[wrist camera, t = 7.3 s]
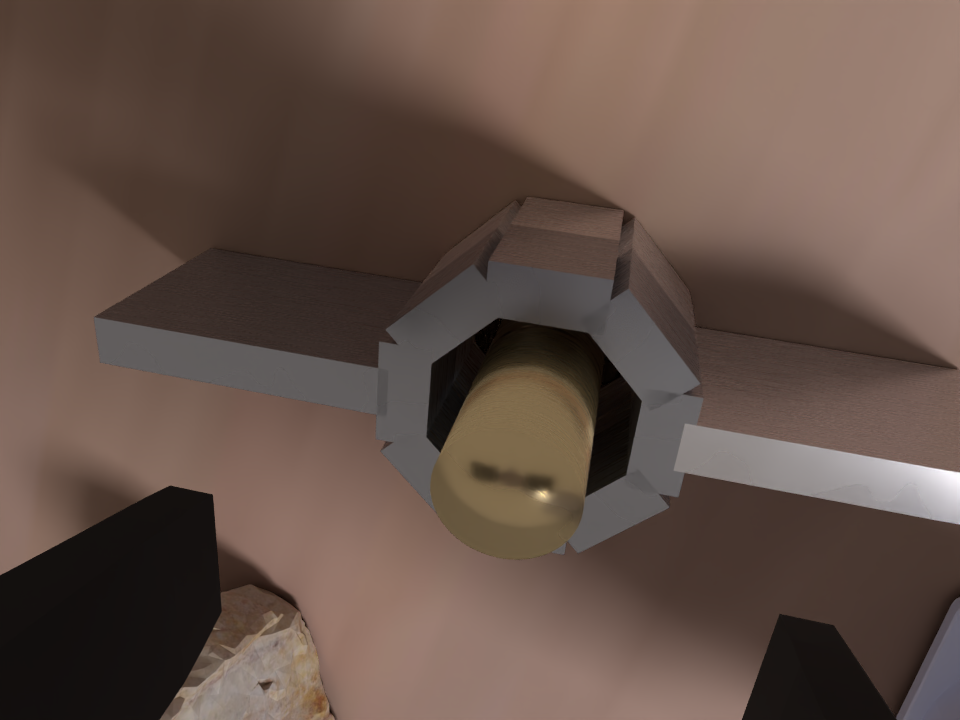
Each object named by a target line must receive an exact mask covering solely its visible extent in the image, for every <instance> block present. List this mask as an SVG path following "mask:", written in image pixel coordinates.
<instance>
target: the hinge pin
mask: <svg viewBox="0 0 960 720" xmlns="http://www.w3.org/2000/svg"><path fill="white" fill-rule="evenodd" d="M604 360H605V353H604V352H603V351H602V349H601V348H600V347H599V346H598V344H597V343H596V342H595V340H594V339H593V338H592V337H591V335H590V334H589V333H587V332H581V331H575V330H569V329H563V328H557V327H551V326H545V325H539V324H533V323H527V322H521V321H515V320H509V319H502V321H501V323H500V326H499V328H498V330H497V332H496V334H495V336H494V338H493V341H492V343H491V345H490V347H489V349H488V351H487V354H486V356H485V358H484V360H483V362H482V364H481V366H480V369H479V371H478V373H477V375H476V377H475V379H474V382H473V384H472V386H471V388H470V390H469V392H468V394H467V397H466V399H465V401H464V403H463V405H462V407H461V410H460V412H459V414H458V416H457V418H456V420H455V422H454V425H453V427H452V429H451V431H450V433H449V435H448V437H447V440H446V442H445V444H444V446H443V448H442V450H441V453H440V455H439V457H438V459H437V461H436V463H435V465H434V468H433V471H432V474H431V481H430V493H431V498H432V502H433V505H434V508H435V510H436V512H437V515H438V517H439V518H440V520H441V521H442V523H443V524H444V525H445V527H446V528H447V529H448V530H449V531H450V532H451V533H452V534H453V535H454V536H455V537H456V538H457V539H459V540H460V541H461V542H463V543H464V544H466V545H467V546H469V547H471V548H472V549H475V550H477V551H479V552H481V553H484V554H487V555H490V556H493V557H498V558H503V559H515V560H521V559H530V558H536V557H539V556H543V555H546V554H548V553H550V552H552V551H554V550H556V549H558V548H559V547H561V546H562V545H563V544H564V543H566V542H567V541H568V540H569V539H570V538H571V536H572V535H573V534H574V533H575V531H576V529H577V528H578V526H579V524H580V521H581V519H582V514H583V510H584V502H585V495H586V488H587V481H588V474H589V467H590V460H591V452H592V445H593V438H594V431H595V424H596V417H597V410H598V403H599V395H600V388H601V381H602V374H603V367H604Z"/></svg>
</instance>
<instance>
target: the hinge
mask: <svg viewBox="0 0 960 720" xmlns="http://www.w3.org/2000/svg"><path fill="white" fill-rule="evenodd" d="M623 213H624V210H619V209H612V208H605V207H598V206H591V205H584V204H577V203H570V202H563V201H556V200H549V199H542V198H535V197H527V198H526V200H525V202H524V203H523V205H522V207H521V206H520V205H519V203H518V202H517V201H516V200H514V201H513V202H512V203H510V204H509V205H508V206H507V207H505V208H504V209H503V210H501V211H500V212H499V213H497V214H496V215H495V216H494V217H492V218H491V219H490V220H488V221H487V222H486V223H484V224H483V225H482V226H481V227H479V228H478V229H477V230H475V231H474V232H473V233H471V234H470V235H469V236H468V237H466V238H465V239H464V240H462V241H461V242H460V243H458V244H457V245H456V246H454V247H453V248H452V249H451V250H449V251H448V252H447V253H445V255H444V256H443V257H442V258H441V260H440V261H439V262H438V263H437V265H436V266H435V267H434V269H433V270H432V271H431V272H430V274H429V275H428V276H427V277H426V279H425V280H424V281H423V282H422V283H421V282H415V281H408V280H402V279H396V278H390V277H384V276H378V275H371V274H365V273H359V272H353V271H347V270H341V269H335V268H328V267H322V266H316V265H310V264H304V263H298V262H291V261H285V260H279V259H273V258H267V257H261V256H254V255H248V254H242V253H236V252H230V251H224V250H218V249H211V248H210V249H209V250H207V251H205V252H204V253H202V254H200V255H199V256H197V257H195V258H193V259H192V260H190V261H188V262H187V263H185V264H183V265H182V266H180V267H178V268H176V269H175V270H173V271H171V272H170V273H168V274H166V275H164V276H163V277H161V278H159V279H158V280H156V281H154V282H153V283H151V284H149V285H147V286H146V287H144V288H142V289H141V290H139V291H137V292H136V293H134V294H132V295H130V296H129V297H127V298H125V299H124V300H122V301H120V302H119V303H117V304H115V305H113V306H112V307H110V308H108V309H107V310H105V311H103V312H102V313H100V314H98V315H96V316H95V317H94V323H95V330H96V337H97V343H98V350H99V357H100V363H105V364H110V365H116V366H121V367H126V368H132V369H137V370H142V371H148V372H153V373H158V374H163V375H169V376H174V377H179V378H185V379H190V380H195V381H201V382H206V383H211V384H216V385H222V386H227V387H232V388H238V389H243V390H248V391H254V392H259V393H264V394H270V395H275V396H280V397H285V398H291V399H296V400H301V401H307V402H312V403H317V404H323V405H328V406H333V407H338V408H344V409H349V410H354V411H360V412H365V413H370V414H376V439H378V440H383V441H386V443H385V444H384V446H383V448H382V449H381V452H382V453H383V455H384V456H385V457H386V458H387V459H388V460H389V461H390V462H391V463H392V465H393V466H394V467H395V468H396V469H397V470H398V471H399V472H400V473H401V475H402V476H403V477H404V478H405V479H406V480H407V481H408V482H409V483H410V484H411V486H412V487H413V488H414V489H415V490H416V491H417V492H418V493H419V494H420V496H421V497H422V498H423V499H424V500H425V501H426V502H427V503H428V504H429V506H430V507H431V508H432V509H433V510H434V511H435V512H436V510H435V508H434V505H433V502H432V498H431V493H430V481H431V474H432V471H433V468H434V465H435V463H436V461H437V459H438V457H439V455H440V453H441V450H442V448H443V446H444V444H445V442H446V440H447V437H448V435H449V433H450V431H451V429H452V427H453V425H454V422H455V420H456V418H457V416H458V414H459V412H460V410H461V407H462V405H463V403H464V401H465V399H466V397H467V394H468V392H469V390H470V388H471V386H472V384H473V382H474V379H475V377H476V375H477V373H478V371H479V369H480V366H481V364H482V362H483V360H484V358H485V356H486V354H485V353H484V352H483V351H482V349H481V348H480V347H479V346H478V345H477V343H476V342H475V336H476V333H477V332H478V331H479V330H481V329H482V328H484V327H485V326H487V325H488V324H490V323H491V322H492V321H494V320H495V319H497V318H503V319H509V320H515V321H521V322H527V323H533V324H539V325H545V326H551V327H557V328H563V329H569V330H575V331H581V332H587V333H589V334H590V335H591V337H592V338H593V339H594V340H595V342H596V343H597V344H598V346H599V347H600V348H601V349H602V351H603V352H604V353H605V354H606V356H607V357H608V358H609V360H610V361H611V362H612V363H613V365H614V366H615V367H616V368H617V370H618V371H619V372H620V374H621V376H620V377H618V378H616V379H615V380H613V381H611V382H610V383H608V384H606V385H605V386H603V387H601V388H600V395H599V403H598V410H597V417H596V424H595V431H594V438H593V445H592V452H591V460H590V467H589V474H588V481H587V488H586V495H585V502H584V510H583V514H582V519H581V521H580V524H579V526H578V528H577V529H576V531H575V533H574V534H573V535H572V536H571V538H570V539H569V540H568V542H569V544H570V545H571V546H572V547H573V548H574V549H575V551H576V552H577V553H580V552H582V551H584V550H586V549H588V548H590V547H592V546H594V545H596V544H598V543H600V542H602V541H604V540H606V539H608V538H610V537H612V536H614V535H616V534H618V533H620V532H622V531H624V530H626V529H628V528H630V527H632V526H634V525H636V524H638V523H640V522H642V521H644V520H646V519H648V518H650V517H652V516H654V515H656V514H658V513H660V512H662V511H664V510H666V509H668V508H670V504H669V496H673V497H679V493H680V489H681V485H682V481H683V477H684V473H688V474H694V475H699V476H704V477H710V478H715V479H720V480H726V481H731V482H736V483H741V484H747V485H752V486H757V487H763V488H768V489H773V490H779V491H784V492H789V493H795V494H800V495H805V496H810V497H816V498H821V499H826V500H832V501H837V502H842V503H848V504H853V505H858V506H863V507H869V508H874V509H879V510H885V511H890V512H895V513H901V514H906V515H911V516H916V517H922V518H927V519H932V520H938V521H943V522H948V523H954V524H959V525H960V370H956V369H950V368H944V367H938V366H932V365H926V364H919V363H913V362H907V361H901V360H895V359H889V358H882V357H876V356H870V355H864V354H858V353H852V352H846V351H839V350H833V349H827V348H821V347H815V346H809V345H802V344H796V343H790V342H784V341H778V340H772V339H765V338H759V337H753V336H747V335H741V334H735V333H729V332H722V331H716V330H710V329H704V328H698V327H695V320H694V311H693V303H691V294H690V291H689V289H688V288H687V287H686V285H685V284H684V283H683V281H682V280H681V279H680V277H679V276H678V275H677V273H676V272H675V270H674V269H673V268H672V266H671V265H670V264H669V262H668V261H667V260H666V258H665V257H664V256H663V254H662V253H661V251H660V250H659V249H658V247H657V246H656V245H655V243H654V242H653V241H652V239H651V238H650V237H649V235H648V234H647V232H646V231H645V230H644V228H643V227H642V226H641V224H640V223H639V222H638V220H637V219H636V217H634V218H633V219H631V220H630V221H628V222H627V223H625V224H624V225H623V226H622V220H623ZM436 513H437V512H436ZM565 548H566V543H564V544H563V545H562V546H561V547H559V548H558V549H556V550H554V551H552V553H557V554H562V555H564V553H565Z"/></svg>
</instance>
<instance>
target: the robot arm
mask: <svg viewBox="0 0 960 720" xmlns="http://www.w3.org/2000/svg"><path fill="white" fill-rule="evenodd" d="M221 612H222V606H221V594H220V581H219V568H218V555H217V542H216V529H215V516H214V503H213V495H212V494H207V493H203V492H198V491H193V490H188V489H184V488H179V487H174V486H168V487H166V488H164V489H162V490H160V491H158V492H156V493H154V494H152V495H150V496H148V497H146V498H144V499H142V500H140V501H138V502H137V503H135V504H133V505H131V506H129V507H127V508H125V509H123V510H122V511H120V512H118V513H116V514H114V515H112V516H110V517H109V518H107V519H105V520H103V521H101V522H99V523H98V524H96V525H94V526H92V527H90V528H88V529H86V530H85V531H83V532H81V533H79V534H77V535H75V536H74V537H72V538H70V539H68V540H66V541H64V542H62V543H60V544H59V545H57V546H55V547H53V548H51V549H49V550H47V551H45V552H43V553H42V554H40V555H38V556H36V557H34V558H32V559H30V560H28V561H27V562H25V563H23V564H21V565H19V566H17V567H15V568H13V569H11V570H10V571H8V572H6V573H4V574H2V575H0V720H160V718H161V717H162V715H163V714H164V712H165V711H166V710H167V708H168V707H169V705H170V704H171V702H172V701H173V699H174V698H175V696H176V695H177V693H178V692H179V690H180V689H181V687H182V686H183V684H184V683H185V681H186V679H187V677H188V675H189V674H190V672H191V670H192V668H193V666H194V664H195V663H196V661H197V659H198V657H199V655H200V653H201V652H202V650H203V648H204V646H205V644H206V642H207V640H208V638H209V636H210V634H211V632H212V630H213V628H214V626H215V624H216V622H217V620H218V618H219V616H220V614H221ZM742 720H960V597H958V598H957V599H955V601H954V602H953V603H952V604H951V606H950V608H949V610H948V612H947V614H946V616H945V618H944V620H943V622H942V625H941V627H940V629H939V631H938V633H937V635H936V637H935V639H934V641H933V643H932V645H931V647H930V649H929V651H928V653H927V655H926V657H925V659H924V661H923V663H922V665H921V668H920V670H919V672H918V674H917V676H916V678H915V680H914V682H913V684H912V686H911V688H910V690H909V692H908V694H907V696H906V698H905V700H904V702H903V704H902V706H901V709H900V711H899V713H898V715H897V717H895V716H894V714H893V713H892V711H891V710H890V709H889V707H888V706H887V704H886V703H885V701H884V700H883V698H882V697H881V695H880V694H879V692H878V691H877V689H876V688H875V686H874V685H873V683H872V682H871V680H870V679H869V677H868V676H867V674H866V673H865V671H864V670H863V668H862V667H861V665H860V664H859V662H858V661H857V659H856V658H855V656H854V655H853V653H852V652H851V650H850V649H849V647H848V646H847V644H846V643H845V641H844V640H843V638H842V637H841V635H840V634H839V633H838V631H837V630H836V628H835V627H834V625H829V624H825V623H820V622H815V621H810V620H806V619H801V618H796V617H791V616H787V615H782V614H780V615H779V617H778V620H777V623H776V626H775V629H774V631H773V634H772V637H771V640H770V643H769V645H768V648H767V651H766V654H765V657H764V659H763V662H762V665H761V668H760V671H759V673H758V676H757V679H756V682H755V685H754V687H753V690H752V693H751V696H750V698H749V701H748V704H747V707H746V710H745V712H744V715H743V718H742Z"/></svg>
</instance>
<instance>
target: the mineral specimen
mask: <svg viewBox="0 0 960 720" xmlns="http://www.w3.org/2000/svg"><path fill="white" fill-rule="evenodd" d="M220 594H221V606H222V612H221V614H220V616H219V618H218V620H217V622H216V624H215V626H214V628H213V630H212V632H211V634H210V636H209V638H208V640H207V642H206V644H205V646H204V648H203V650H202V652H201V653H200V655H199V657H198V659H197V661H196V663H195V664H194V666H193V668H192V670H191V672H190V674H189V675H188V677H187V679H186V681H185V683H184V684H183V686H182V687H181V689H180V690H179V692H178V693H177V695H176V696H175V698H174V699H173V701H172V702H171V704H170V705H169V707H168V708H167V710H166V711H165V712H164V714H163V715H162V717H161V718H160V720H335V718H334V716H333V715H332V714H331V713H330V712H329V702H328V699H327V697H326V694H325V691H324V688H323V685H322V682H321V679H320V674H319V661H318V655H317V651H316V648H315V646H314V644H313V642H312V638H311V635H310V632H309V630H308V629H307V628H306V627H305V622H304V621H303V620H302V619H301V613H300V611H298V610H297V609H296V608H295V607H293V606H292V605H291V604H289V603H288V602H286V601H285V600H283V599H282V598H280V597H278V596H277V595H275V594H273V593H272V592H270V591H267V590H264V589H261V588H258V587H255V586H253V585H251V584H250V585H246V586H242V587H239V588H235V589H232V590H229V591H226V592H221V593H220Z"/></svg>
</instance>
